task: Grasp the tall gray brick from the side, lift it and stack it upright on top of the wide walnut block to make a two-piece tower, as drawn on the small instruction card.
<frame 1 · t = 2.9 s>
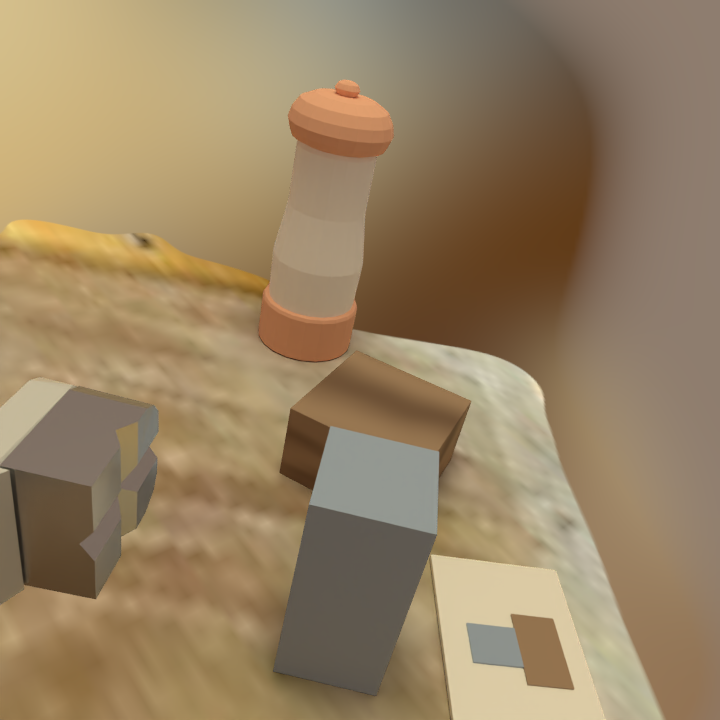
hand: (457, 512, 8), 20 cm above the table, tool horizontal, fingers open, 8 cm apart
instruction card: (512, 651, 30), on the table
pepper shaker: (303, 338, 51), on the table
walnut block: (368, 468, 39), on the table
gray brick: (333, 637, 29), on the table
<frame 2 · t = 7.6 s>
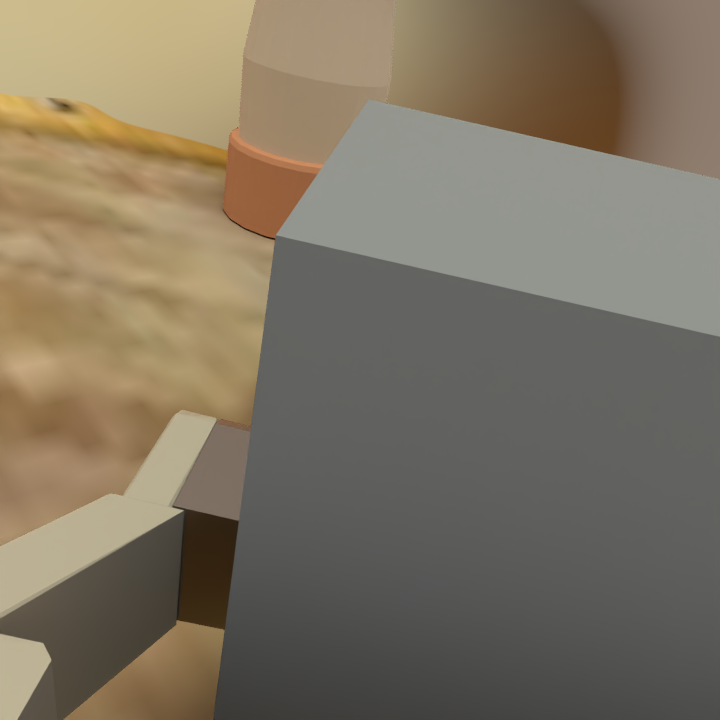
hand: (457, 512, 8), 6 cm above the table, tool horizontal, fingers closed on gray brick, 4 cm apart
pepper shaker: (295, 219, 32), on the table
when the fingers open (11 cm above the table, at t = 11.8 s): gray brick drops 1 cm, resting on walnut block.
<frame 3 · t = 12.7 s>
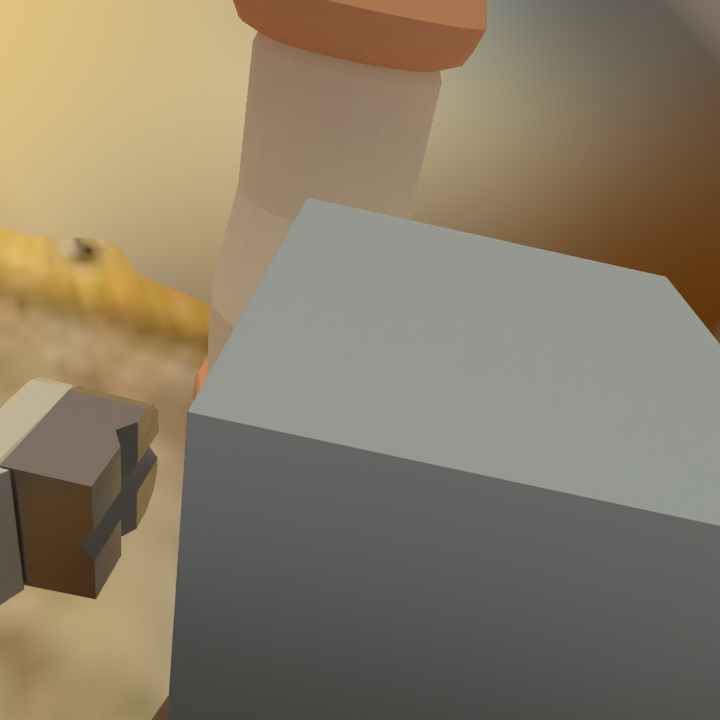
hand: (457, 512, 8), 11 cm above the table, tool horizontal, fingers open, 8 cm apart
pepper shaker: (281, 457, 26), on the table
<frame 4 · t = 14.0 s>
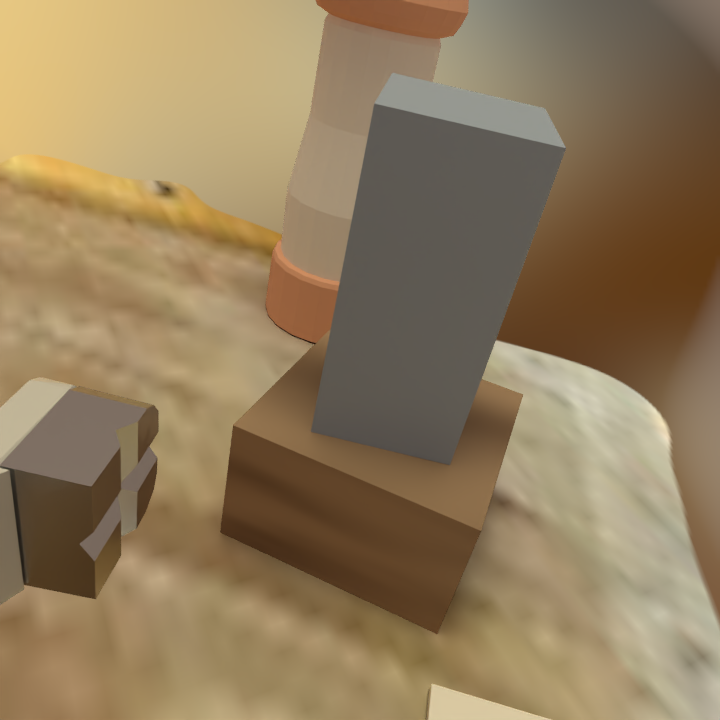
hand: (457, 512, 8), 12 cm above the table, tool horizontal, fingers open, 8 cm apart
pepper shaker: (327, 316, 37), on the table
walnut block: (365, 510, 25), on the table, touching gray brick
gray brick: (387, 406, 22), point 5 cm above the table, touching walnut block
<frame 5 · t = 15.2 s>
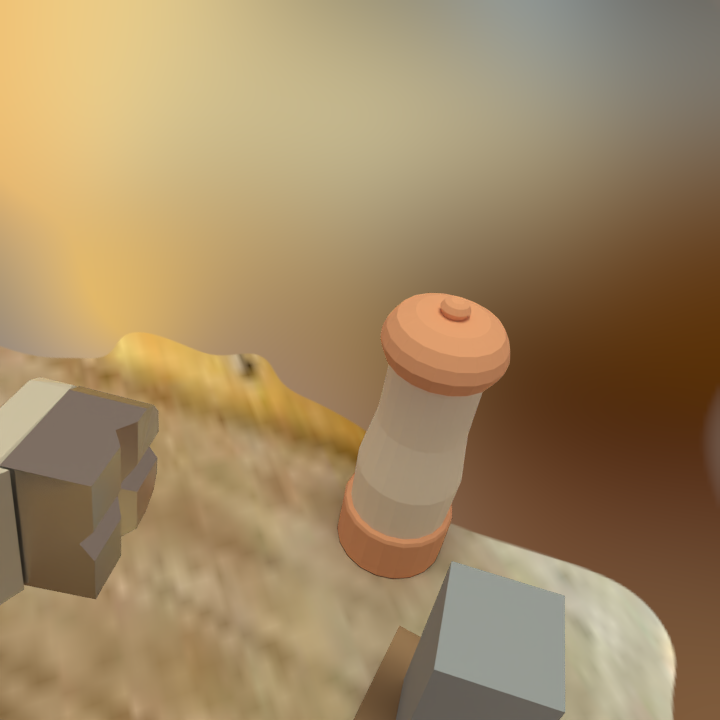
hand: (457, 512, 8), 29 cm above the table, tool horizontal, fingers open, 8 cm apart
pepper shaker: (388, 534, 44), on the table
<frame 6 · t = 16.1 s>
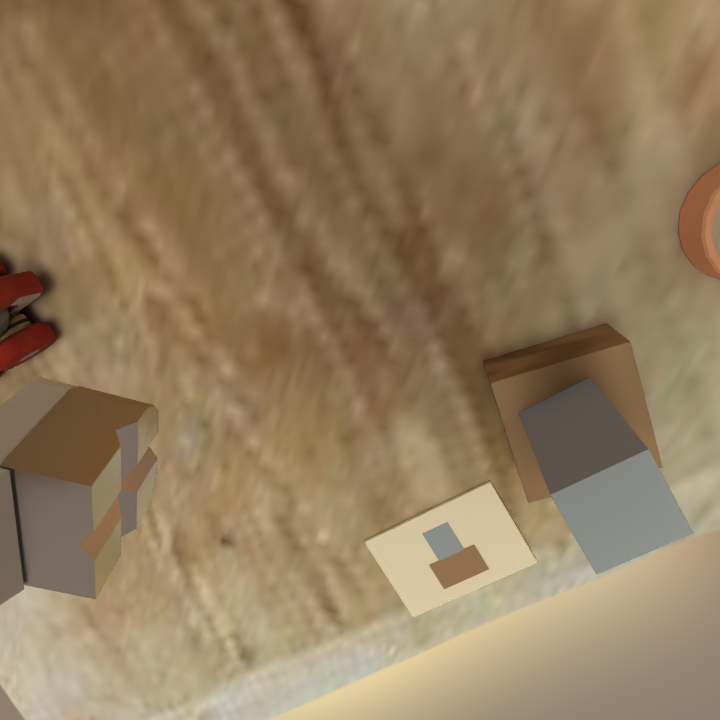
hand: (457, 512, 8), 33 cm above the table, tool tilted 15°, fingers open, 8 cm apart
instruction card: (449, 550, 46), on the table
walnut block: (559, 397, 42), on the table, touching gray brick
gray brick: (571, 427, 37), point 5 cm above the table, touching walnut block
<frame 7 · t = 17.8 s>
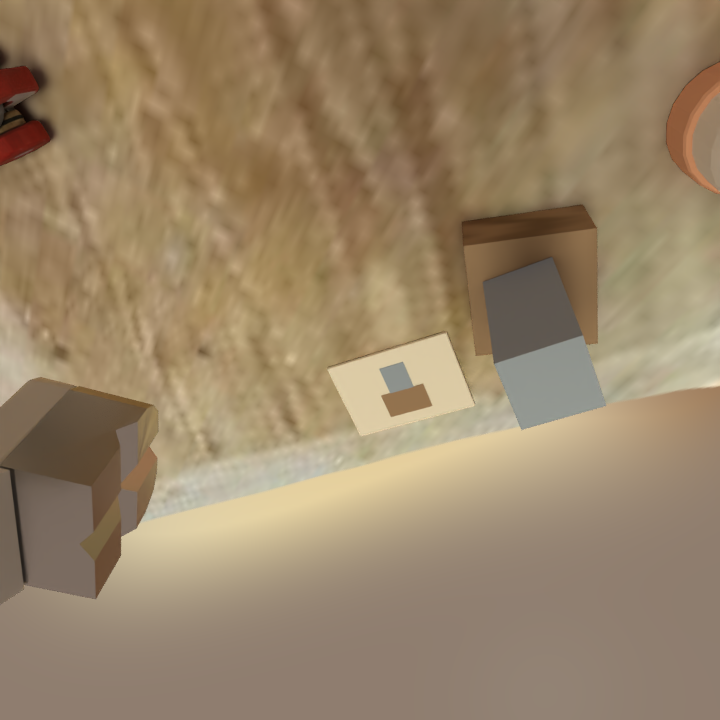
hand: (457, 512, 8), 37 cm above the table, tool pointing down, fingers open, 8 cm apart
instruction card: (401, 385, 51), on the table
walnut block: (524, 266, 45), on the table
gray brick: (527, 299, 41), point 5 cm above the table
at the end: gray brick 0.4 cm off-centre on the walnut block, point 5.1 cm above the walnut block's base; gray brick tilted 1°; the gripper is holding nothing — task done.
